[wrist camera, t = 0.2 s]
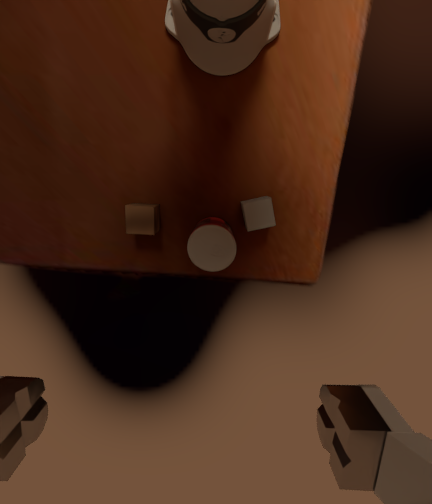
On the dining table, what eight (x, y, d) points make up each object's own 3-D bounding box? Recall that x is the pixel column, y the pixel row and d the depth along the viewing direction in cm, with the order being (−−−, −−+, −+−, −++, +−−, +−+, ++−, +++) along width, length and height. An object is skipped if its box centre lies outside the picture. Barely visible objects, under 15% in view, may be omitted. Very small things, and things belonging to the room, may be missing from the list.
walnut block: (133, 203, 54) (125, 205, 49) (159, 204, 54) (153, 206, 49) (134, 228, 55) (126, 233, 50) (159, 230, 55) (154, 234, 50)
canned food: (230, 256, 56) (233, 274, 46) (191, 252, 56) (184, 269, 45) (235, 218, 54) (239, 228, 44) (194, 214, 54) (188, 222, 43)
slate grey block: (240, 201, 54) (242, 203, 49) (266, 196, 53) (271, 197, 48) (245, 227, 55) (247, 231, 50) (270, 221, 54) (275, 225, 50)
